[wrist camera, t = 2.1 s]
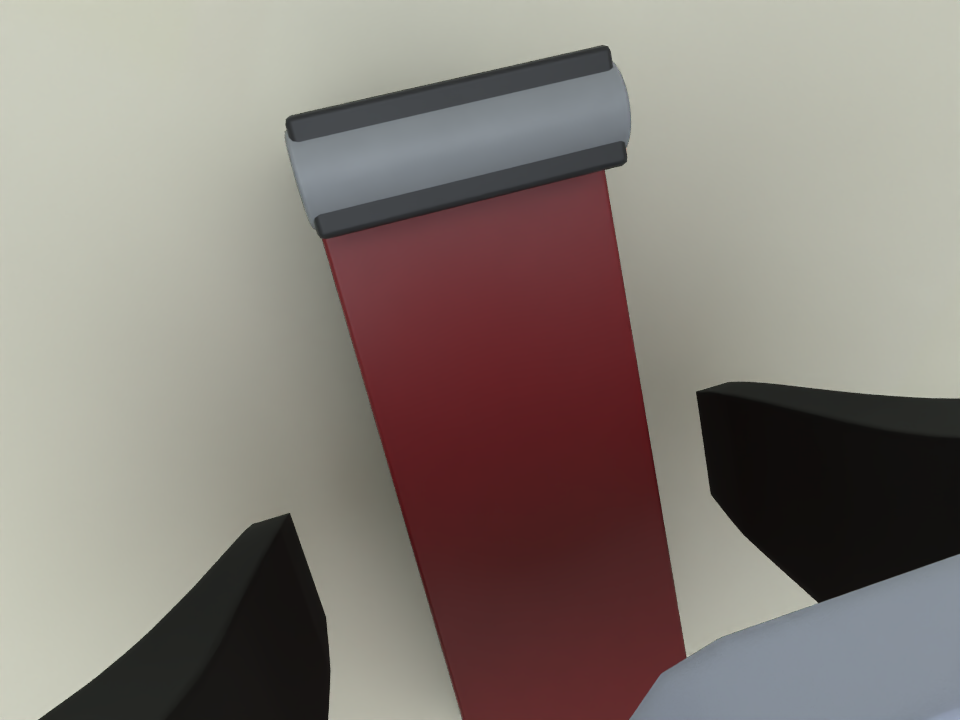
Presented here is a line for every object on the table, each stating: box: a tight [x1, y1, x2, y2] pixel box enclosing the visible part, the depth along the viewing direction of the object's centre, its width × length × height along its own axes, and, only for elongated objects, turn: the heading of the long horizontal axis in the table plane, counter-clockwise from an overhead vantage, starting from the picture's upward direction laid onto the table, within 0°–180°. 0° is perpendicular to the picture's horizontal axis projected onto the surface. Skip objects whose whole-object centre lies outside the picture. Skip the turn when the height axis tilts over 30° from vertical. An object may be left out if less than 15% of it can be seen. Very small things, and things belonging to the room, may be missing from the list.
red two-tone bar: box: [285, 45, 687, 720], centre depth 12 cm, size 13×4×6 cm, turn 13°
